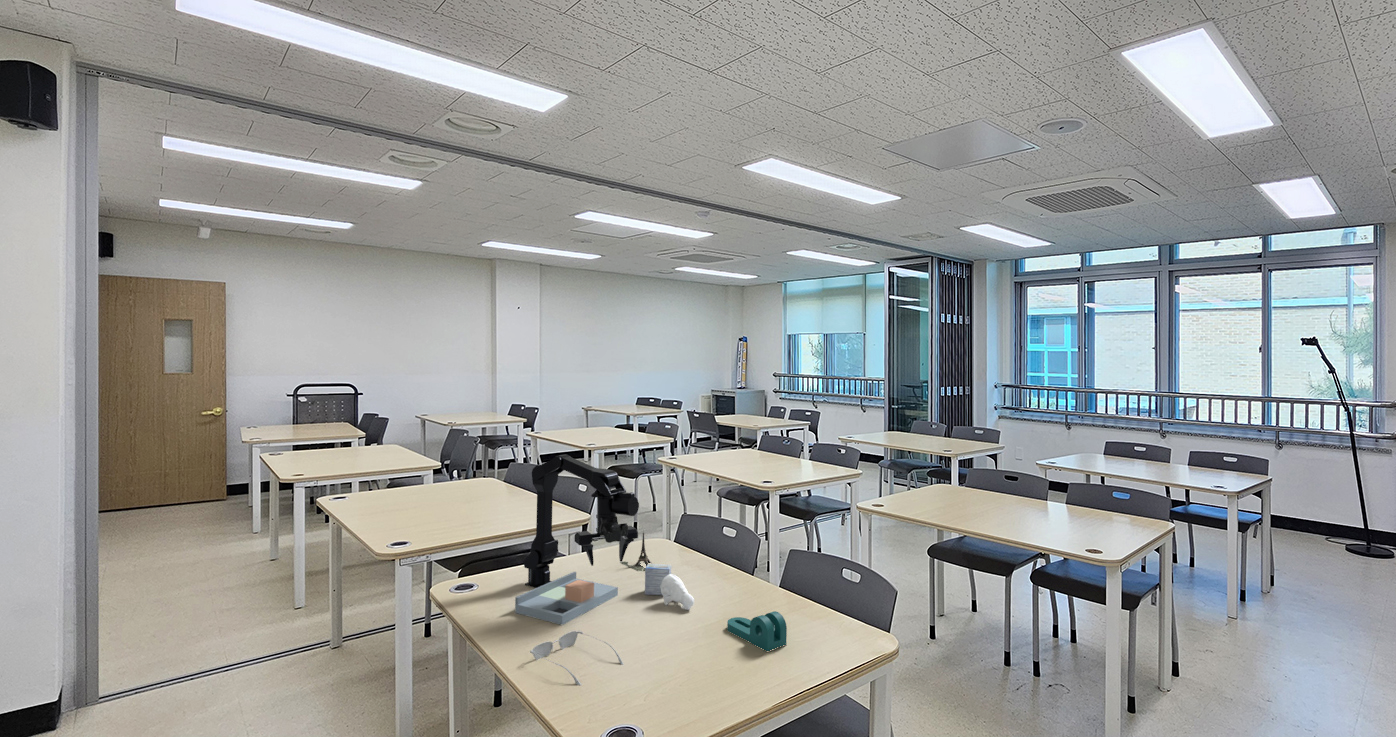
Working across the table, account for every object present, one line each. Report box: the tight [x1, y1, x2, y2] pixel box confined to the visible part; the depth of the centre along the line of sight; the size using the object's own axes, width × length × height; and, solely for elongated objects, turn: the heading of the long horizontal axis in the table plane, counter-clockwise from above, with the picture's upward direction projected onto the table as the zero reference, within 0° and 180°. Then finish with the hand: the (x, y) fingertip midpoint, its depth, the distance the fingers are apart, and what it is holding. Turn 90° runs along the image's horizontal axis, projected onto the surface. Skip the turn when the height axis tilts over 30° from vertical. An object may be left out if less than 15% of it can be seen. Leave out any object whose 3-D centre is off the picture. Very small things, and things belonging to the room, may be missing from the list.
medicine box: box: [644, 563, 672, 596], centre depth 200 cm, size 8×4×9 cm, turn 84°
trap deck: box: [514, 571, 619, 626], centre depth 190 cm, size 18×26×4 cm, turn 152°
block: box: [565, 579, 594, 603], centre depth 188 cm, size 6×6×4 cm
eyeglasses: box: [529, 630, 624, 686], centre depth 152 cm, size 15×18×4 cm
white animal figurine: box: [660, 573, 695, 611], centre depth 190 cm, size 6×8×12 cm
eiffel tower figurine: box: [619, 529, 652, 572], centre depth 228 cm, size 15×10×13 cm
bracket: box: [726, 610, 788, 652], centre depth 168 cm, size 18×7×8 cm, turn 37°
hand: (606, 563), depth 192 cm, fingers open, 9 cm apart
